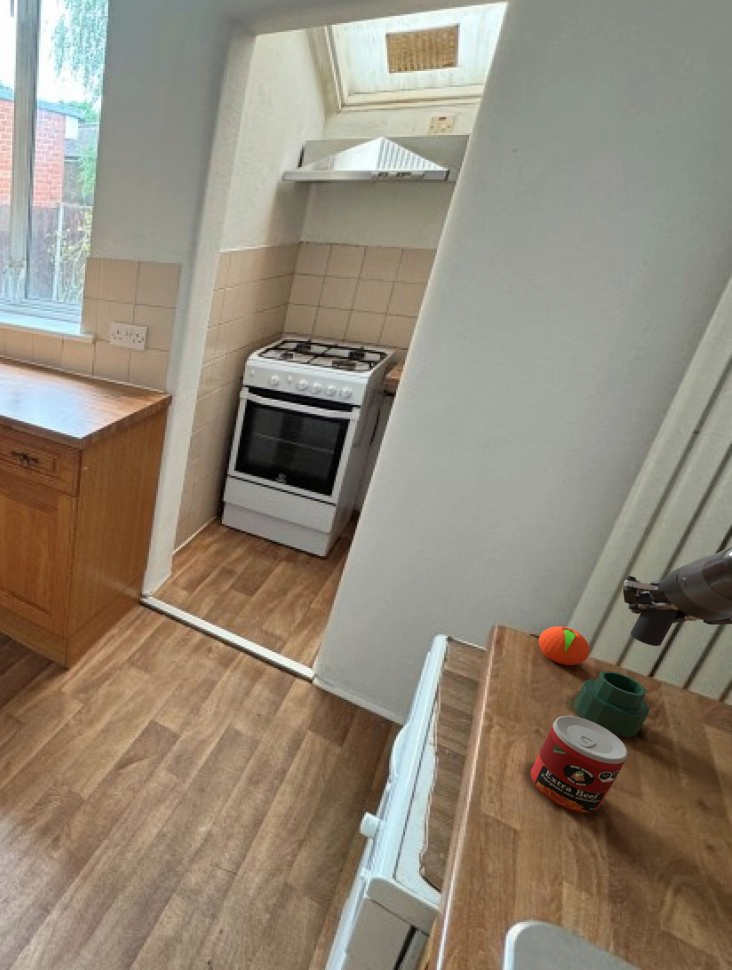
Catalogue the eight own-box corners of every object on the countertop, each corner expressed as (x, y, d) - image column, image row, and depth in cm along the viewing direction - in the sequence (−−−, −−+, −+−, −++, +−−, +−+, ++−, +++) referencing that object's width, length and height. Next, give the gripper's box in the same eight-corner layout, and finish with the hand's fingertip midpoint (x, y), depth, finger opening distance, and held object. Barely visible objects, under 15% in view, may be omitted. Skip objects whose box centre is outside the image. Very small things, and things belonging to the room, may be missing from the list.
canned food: (526, 792, 89) (552, 737, 84) (531, 759, 94) (556, 706, 90) (597, 828, 84) (629, 771, 79) (598, 791, 89) (628, 736, 85)
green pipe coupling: (639, 722, 101) (659, 685, 98) (633, 746, 96) (654, 709, 93) (577, 694, 106) (594, 659, 103) (568, 716, 102) (586, 679, 99)
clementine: (581, 682, 109) (596, 651, 107) (531, 663, 114) (545, 633, 111) (581, 659, 115) (596, 629, 112) (534, 642, 119) (547, 613, 116)
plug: (662, 640, 95) (685, 598, 92) (659, 649, 93) (683, 607, 90) (631, 628, 97) (653, 587, 94) (628, 637, 95) (650, 596, 92)
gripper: (798, 577, 79) (717, 605, 93) (648, 544, 86) (594, 575, 100) (798, 632, 76) (715, 652, 90) (644, 594, 84) (589, 618, 98)
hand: (652, 611), depth 95 cm, fingers closed on plug, 3 cm apart
